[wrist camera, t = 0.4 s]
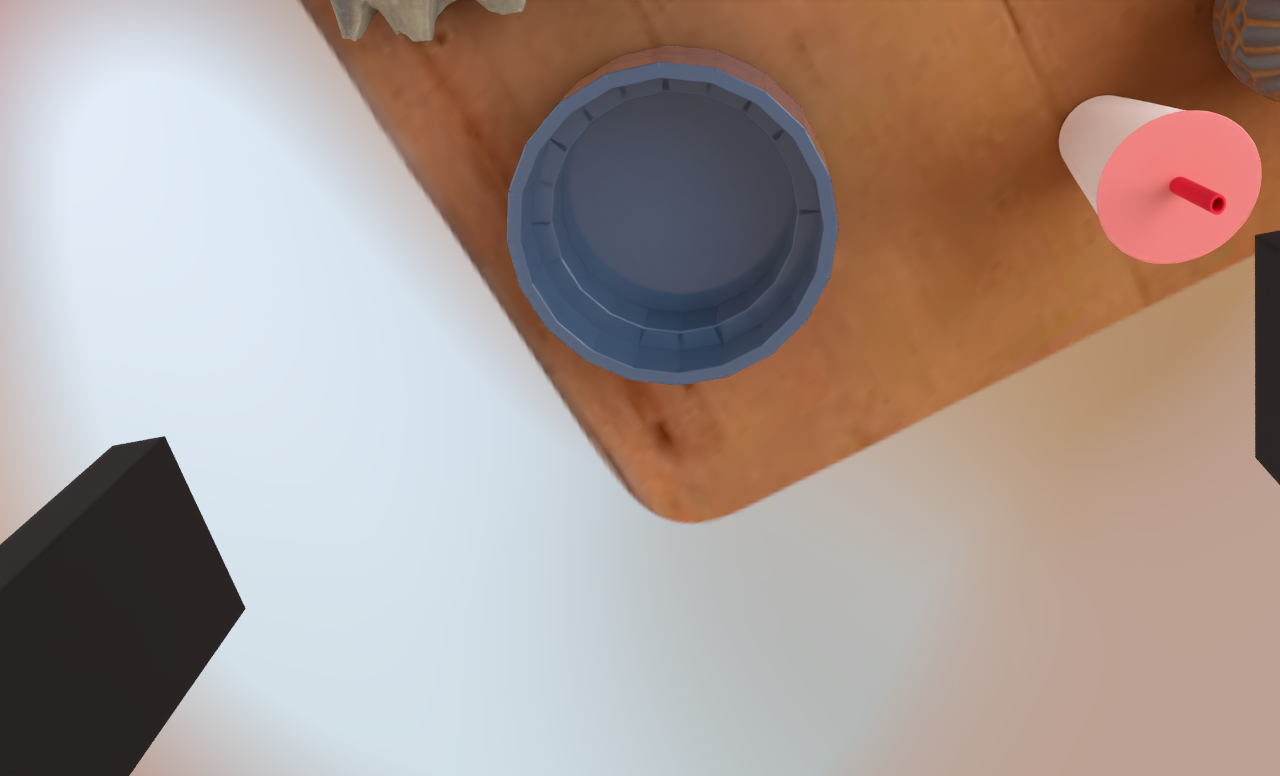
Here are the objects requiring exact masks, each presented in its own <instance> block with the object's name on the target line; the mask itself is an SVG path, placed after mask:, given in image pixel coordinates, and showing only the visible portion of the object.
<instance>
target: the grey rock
mask: <svg viewBox="0 0 1280 776" xmlns="http://www.w3.org/2000/svg"><path fill="white" fill-rule="evenodd" d="M454 1H456V0H330V2H331V4H332V7H333V9H334V12H335V15H336V18H337V21H338V25H339V28H340V32H341V35H342V38H343V39H351V40H353V41H354V42H355V41H357V40H358V39H360V38H361V37H363V35H364V33H365V31H366V29H367V27H368V25H369V24H370V22H371V20H372V18H373V16H374V15H375V14H376V13H377V12H378V11H379V12H380V13H381V14H382V15H383V16H384V17H385V19H386V20H387V22H388V23H389V24H390V26H391V27H392V29H393V30H394V32H395V33H396V35H399V34H401V33H403V34H406V35H407V36H408V37H409V38H410V39H411V40H412V41H413V42H418V41H431V40H432V39H433V38H434V25H435V22H436V19H437V16H438V15H439V14H440V13H441V12H442V11H443V9H444V8H445V7H446V6H447V5H449V4H450V3H452V2H454ZM477 1H478V2H479V3H480V4H481V5H482V6H484V7H485V8H486V9H487V10H488V11H490V12H497V13H499V14H501V15H506V14H511V13H518V12H523V10H524V7H525V3H526V0H477Z"/></svg>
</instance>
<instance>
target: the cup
mask: <svg viewBox="0 0 1280 776" xmlns="http://www.w3.org/2000/svg"><path fill="white" fill-rule="evenodd" d="M1059 150H1060V153H1061V156H1062V158H1063V160H1064V162H1065V163H1066V165H1067V167H1068V168H1069V170H1070V172H1071V174H1072V175H1073V177H1074V178H1075V180H1076V182H1077V183H1078V185H1079V186H1080V188H1081V190H1082V191H1083V193H1084V194H1085V196H1086V197H1087V199H1088V200H1089V202H1090V204H1091V205H1092V207H1093V208H1094V210H1095V211H1096V213H1097V214H1098V216H1099V220H1100V223H1101V226H1102V228H1103V230H1104V232H1105V233H1106V235H1107V237H1108V238H1109V239H1110V240H1111V242H1112V243H1113V244H1114V245H1115V246H1116V247H1117V248H1119V249H1120V250H1121V251H1123V252H1124V253H1126V254H1127V255H1129V256H1131V257H1133V258H1135V259H1138V260H1141V261H1145V262H1149V263H1156V264H1173V263H1180V262H1185V261H1189V260H1192V259H1195V258H1198V257H1201V256H1203V255H1205V254H1207V253H1209V252H1211V251H1213V250H1214V249H1216V248H1218V247H1219V246H1221V245H1222V244H1223V243H1225V242H1226V241H1227V240H1228V239H1230V238H1231V237H1232V236H1233V235H1234V234H1235V233H1236V232H1237V231H1238V230H1239V228H1240V227H1241V226H1242V225H1243V224H1244V222H1245V221H1246V219H1247V218H1248V216H1249V215H1250V213H1251V211H1252V209H1253V207H1254V205H1255V203H1256V200H1257V197H1258V194H1259V190H1260V185H1261V175H1262V171H1261V162H1260V157H1259V154H1258V151H1257V148H1256V146H1255V144H1254V142H1253V141H1252V139H1251V138H1250V136H1249V135H1248V134H1247V133H1246V131H1245V130H1244V129H1243V128H1242V127H1240V126H1239V125H1238V124H1237V123H1235V122H1234V121H1232V120H1230V119H1228V118H1226V117H1224V116H1222V115H1219V114H1216V113H1212V112H1207V111H1196V110H1191V111H1186V110H1181V109H1177V108H1172V107H1168V106H1163V105H1158V104H1154V103H1149V102H1144V101H1140V100H1135V99H1130V98H1123V97H1118V96H1113V95H1103V96H1097V97H1094V98H1091V99H1088V100H1086V101H1085V102H1083V103H1081V104H1080V105H1078V106H1077V107H1076V108H1075V109H1074V110H1073V111H1072V112H1071V113H1070V114H1069V115H1068V117H1067V118H1066V120H1065V121H1064V123H1063V125H1062V128H1061V131H1060V135H1059Z"/></svg>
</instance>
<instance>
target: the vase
mask: <svg viewBox="0 0 1280 776" xmlns="http://www.w3.org/2000/svg"><path fill="white" fill-rule="evenodd" d="M1213 32H1214V37H1215V41H1216V45H1217V48H1218V51H1219V53H1220V55H1221V57H1222V59H1223V61H1224V63H1225V64H1226V66H1227V67H1228V68H1229V70H1230V71H1231V72H1232V74H1233V75H1234V76H1235V77H1236V78H1237V79H1238V80H1239V81H1240V82H1242V83H1243V84H1244V85H1246V86H1247V87H1249V88H1250V89H1252V90H1253V91H1255V92H1257V93H1258V94H1260V95H1262V96H1265V97H1267V98H1269V99H1271V100H1274V101H1277V102H1280V0H1215V4H1214V10H1213Z"/></svg>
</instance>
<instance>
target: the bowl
mask: <svg viewBox="0 0 1280 776" xmlns="http://www.w3.org/2000/svg"><path fill="white" fill-rule="evenodd" d="M838 229H839V228H838V218H837V212H836V206H835V200H834V193H833V187H832V181H831V176H830V172H829V169H828V166H827V162H826V159H825V155H824V152H823V149H822V146H821V144H820V142H819V140H818V139H817V137H816V135H815V133H814V131H813V129H812V127H811V125H810V123H809V122H808V120H807V118H806V116H805V114H804V112H803V110H802V108H801V106H799V104H798V103H797V102H796V101H795V100H794V99H793V98H792V97H791V96H790V95H788V94H787V93H786V92H785V91H784V90H783V89H782V88H781V87H780V86H779V85H778V84H777V83H776V82H775V81H774V80H773V79H771V78H770V77H769V76H768V75H767V74H766V73H765V72H763V71H762V70H760V69H758V68H756V67H754V66H751V65H749V64H747V63H745V62H743V61H741V60H738V59H736V58H734V57H732V56H730V55H727V54H725V53H723V52H721V51H717V50H712V49H702V48H692V47H682V46H672V45H669V46H667V45H665V46H661V47H657V48H652V49H648V50H644V51H639V52H635V53H631V54H626V55H622V56H620V57H617V58H615V59H614V60H612V61H610V62H609V63H607V64H606V65H604V66H602V67H601V68H599V69H598V70H596V71H594V72H593V73H591V74H590V75H588V76H586V77H585V78H583V79H581V80H580V81H578V82H577V83H576V84H575V85H574V86H573V87H572V89H571V90H570V91H569V92H568V93H567V94H566V95H565V96H564V98H563V99H562V100H561V101H560V102H559V103H558V104H557V106H556V107H555V108H554V109H553V110H552V112H551V113H550V114H549V115H548V116H547V118H546V119H545V120H544V121H543V123H542V124H541V125H540V126H539V127H538V129H537V130H536V131H535V132H534V134H533V135H532V136H531V137H530V138H529V140H528V141H527V143H526V144H525V147H524V149H523V152H522V155H521V157H520V160H519V163H518V165H517V168H516V171H515V173H514V176H513V179H512V181H511V184H510V187H509V191H508V207H507V237H506V239H507V245H508V248H509V252H510V255H511V259H512V262H513V266H514V269H515V272H516V276H517V279H518V283H519V286H520V288H521V291H522V292H523V294H524V295H525V297H526V298H527V300H528V301H529V303H530V304H531V306H532V307H533V309H534V310H535V312H536V313H537V315H538V316H539V318H540V319H541V321H542V322H543V324H544V325H545V327H546V328H547V329H548V330H549V331H550V332H551V333H552V334H554V335H555V336H556V337H557V338H558V339H560V340H561V341H562V342H563V343H565V344H566V345H567V346H568V347H569V348H571V349H572V350H573V351H574V352H575V353H577V354H578V355H579V356H580V357H582V358H583V359H584V360H586V361H587V362H589V363H592V364H594V365H596V366H599V367H601V368H603V369H606V370H608V371H610V372H613V373H615V374H618V375H620V376H622V377H625V378H627V379H631V380H635V381H643V382H652V383H661V384H669V385H684V384H690V383H696V382H702V381H707V380H713V379H719V378H725V377H728V376H730V375H732V374H734V373H736V372H738V371H740V370H742V369H744V368H746V367H748V366H750V365H752V364H754V363H756V362H758V361H760V360H762V359H764V358H766V357H768V356H770V355H772V354H773V353H774V352H775V351H776V350H777V349H778V348H779V347H780V346H781V345H782V344H783V343H784V342H785V341H787V340H788V339H789V338H790V337H791V336H792V335H793V334H794V333H795V332H796V331H797V330H798V329H799V328H800V327H801V326H802V325H803V324H804V323H805V322H806V321H807V320H808V318H809V316H810V314H811V312H812V310H813V308H814V307H815V305H816V303H817V301H818V299H819V297H820V295H821V293H822V292H823V290H824V288H825V286H826V284H827V282H828V280H829V279H830V276H831V270H832V264H833V258H834V252H835V246H836V241H837V235H838Z"/></svg>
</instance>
